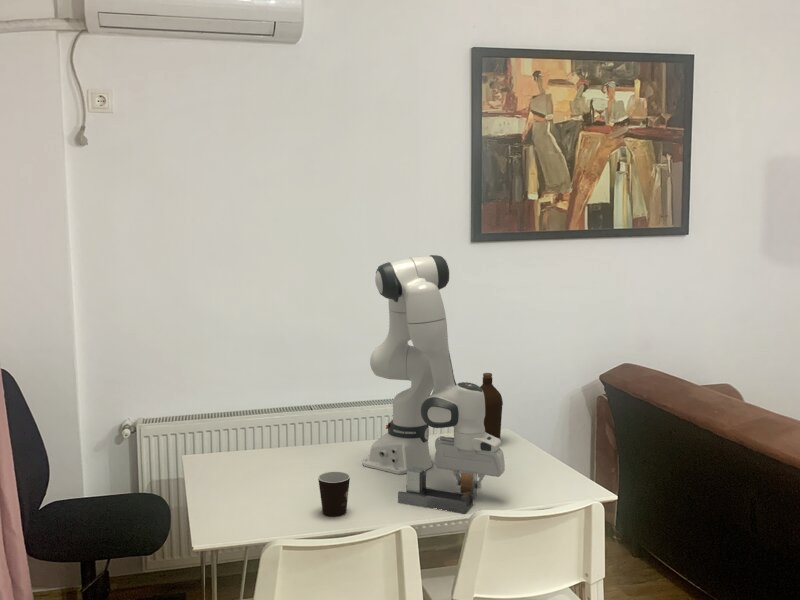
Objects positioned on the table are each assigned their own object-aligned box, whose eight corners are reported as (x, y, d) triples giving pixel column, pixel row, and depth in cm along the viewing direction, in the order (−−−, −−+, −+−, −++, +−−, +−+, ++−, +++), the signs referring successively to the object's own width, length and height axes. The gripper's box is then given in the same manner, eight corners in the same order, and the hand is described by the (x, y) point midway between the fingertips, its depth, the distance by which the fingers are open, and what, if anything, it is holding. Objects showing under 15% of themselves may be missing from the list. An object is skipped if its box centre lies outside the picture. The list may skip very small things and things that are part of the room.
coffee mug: (337, 521, 204) (337, 484, 203) (312, 514, 208) (311, 478, 207) (362, 506, 214) (362, 471, 212) (337, 500, 218) (337, 466, 217)
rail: (397, 502, 216) (397, 471, 215) (407, 494, 223) (407, 464, 222) (465, 513, 208) (465, 481, 207) (473, 504, 215) (473, 473, 214)
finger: (472, 501, 218) (472, 473, 217) (459, 499, 219) (459, 471, 218) (477, 495, 222) (477, 468, 221) (464, 493, 223) (464, 467, 222)
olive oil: (484, 449, 263) (484, 378, 260) (465, 441, 272) (466, 372, 269) (508, 444, 269) (509, 374, 266) (489, 437, 278) (490, 369, 275)
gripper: (431, 438, 220) (431, 485, 221) (500, 447, 212) (499, 495, 213) (438, 432, 225) (438, 477, 227) (506, 440, 217) (505, 487, 219)
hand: (468, 486), depth 220 cm, fingers closed on finger, 4 cm apart
